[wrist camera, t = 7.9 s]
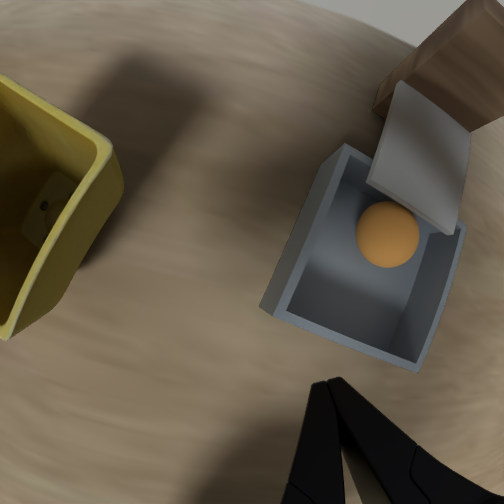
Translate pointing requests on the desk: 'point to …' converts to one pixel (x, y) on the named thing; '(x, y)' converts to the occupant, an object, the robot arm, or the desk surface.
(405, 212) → the ball
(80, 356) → the desk surface
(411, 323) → the shallow blue-grey tray
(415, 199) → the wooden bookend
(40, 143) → the flower pot
